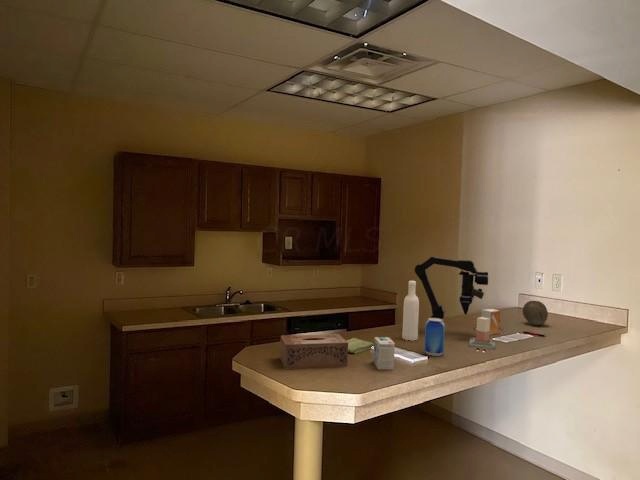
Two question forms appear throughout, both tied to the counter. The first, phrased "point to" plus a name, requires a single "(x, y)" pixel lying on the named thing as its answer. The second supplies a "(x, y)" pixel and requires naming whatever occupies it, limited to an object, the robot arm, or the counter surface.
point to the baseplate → (482, 344)
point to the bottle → (410, 314)
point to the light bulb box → (384, 353)
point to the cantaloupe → (535, 312)
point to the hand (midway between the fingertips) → (466, 312)
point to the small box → (492, 320)
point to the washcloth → (358, 345)
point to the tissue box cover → (313, 351)
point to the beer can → (434, 337)
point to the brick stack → (482, 329)
